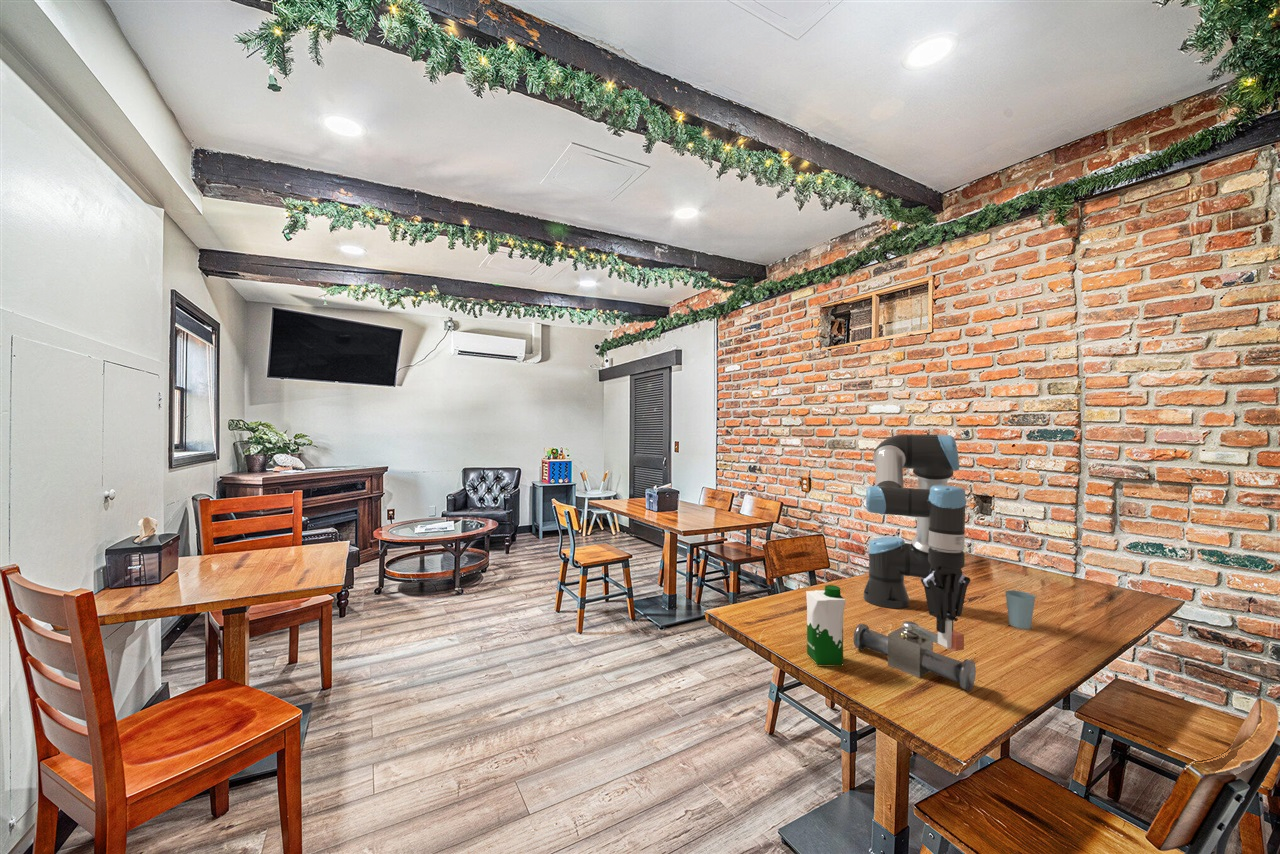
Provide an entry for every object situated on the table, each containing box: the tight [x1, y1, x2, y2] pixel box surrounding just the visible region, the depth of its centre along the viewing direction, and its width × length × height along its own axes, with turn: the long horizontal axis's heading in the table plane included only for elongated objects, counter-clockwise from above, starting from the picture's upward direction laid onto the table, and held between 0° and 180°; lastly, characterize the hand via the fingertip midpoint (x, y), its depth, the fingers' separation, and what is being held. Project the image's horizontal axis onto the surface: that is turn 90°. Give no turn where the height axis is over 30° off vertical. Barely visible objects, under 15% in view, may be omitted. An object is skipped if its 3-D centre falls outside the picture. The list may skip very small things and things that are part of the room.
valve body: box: [853, 623, 977, 692], centre depth 129 cm, size 28×8×10 cm, turn 37°
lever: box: [902, 620, 965, 652], centre depth 123 cm, size 15×4×4 cm, turn 21°
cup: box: [1005, 589, 1036, 630], centre depth 157 cm, size 8×8×10 cm
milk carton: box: [805, 584, 846, 666], centre depth 132 cm, size 9×9×20 cm
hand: (944, 645), depth 118 cm, fingers closed
